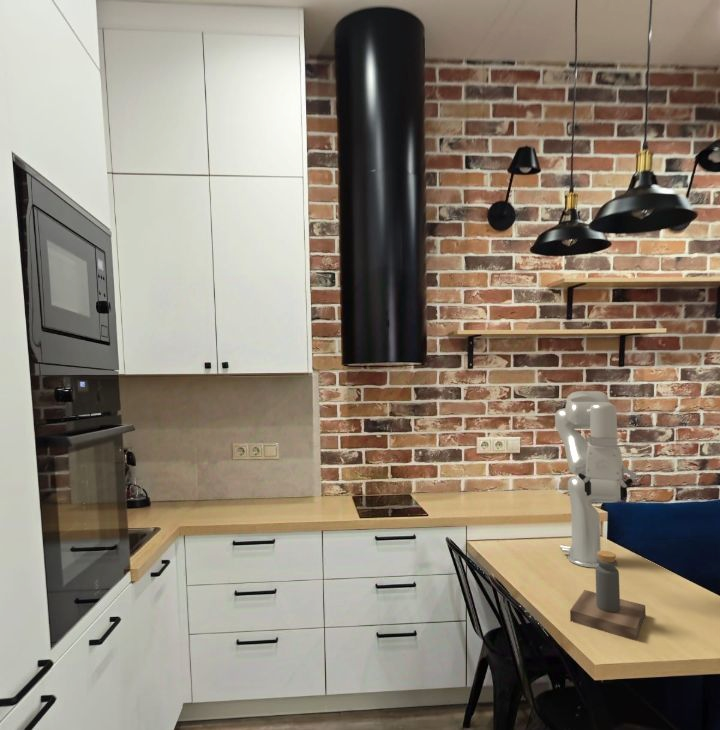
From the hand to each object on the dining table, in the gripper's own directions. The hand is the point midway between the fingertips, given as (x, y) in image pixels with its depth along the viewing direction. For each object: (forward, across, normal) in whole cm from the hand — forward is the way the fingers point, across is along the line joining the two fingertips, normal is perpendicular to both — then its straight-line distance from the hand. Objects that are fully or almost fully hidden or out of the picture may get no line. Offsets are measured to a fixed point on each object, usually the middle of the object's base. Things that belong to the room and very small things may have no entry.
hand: (605, 497), depth 146 cm
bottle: (+28, +3, -16) cm, 32 cm away
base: (+30, +3, -16) cm, 34 cm away
